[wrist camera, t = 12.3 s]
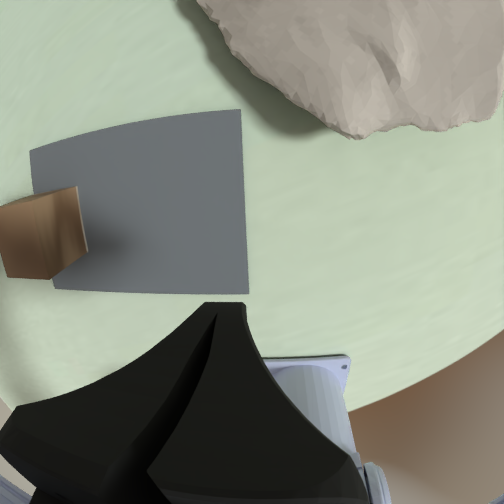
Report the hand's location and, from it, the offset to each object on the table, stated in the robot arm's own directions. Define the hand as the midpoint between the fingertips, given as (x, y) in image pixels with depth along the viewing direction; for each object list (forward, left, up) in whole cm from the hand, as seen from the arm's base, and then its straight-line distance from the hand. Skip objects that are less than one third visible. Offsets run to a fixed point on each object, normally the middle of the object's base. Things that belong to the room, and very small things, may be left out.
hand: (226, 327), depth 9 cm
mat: (+2, +9, -10) cm, 13 cm away
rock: (+19, -12, -10) cm, 25 cm away
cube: (+2, +15, -5) cm, 15 cm away
